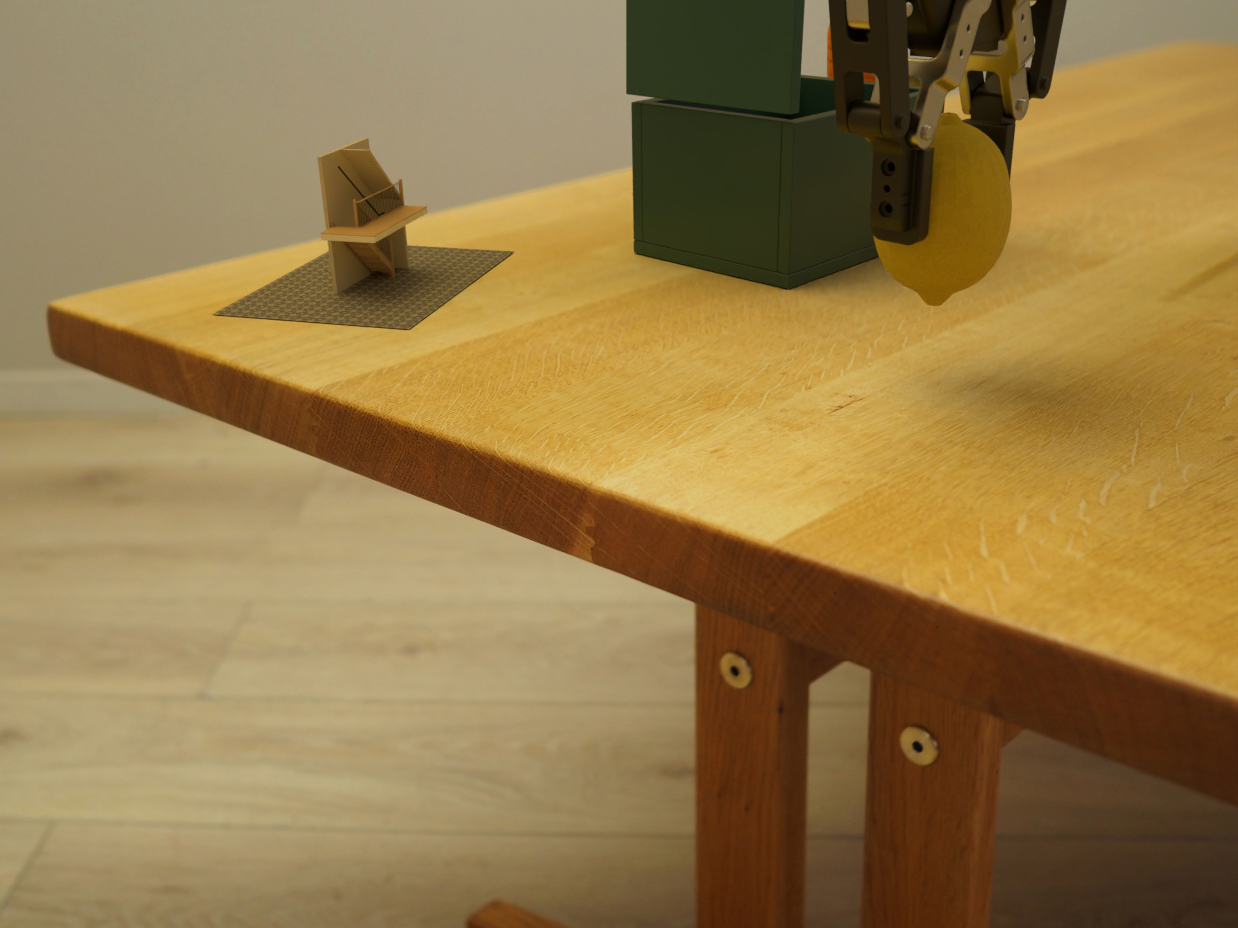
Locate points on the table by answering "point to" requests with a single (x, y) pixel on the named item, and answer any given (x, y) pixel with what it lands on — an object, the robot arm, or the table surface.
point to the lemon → (956, 216)
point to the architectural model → (366, 256)
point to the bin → (753, 187)
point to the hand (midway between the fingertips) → (940, 223)
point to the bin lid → (716, 52)
